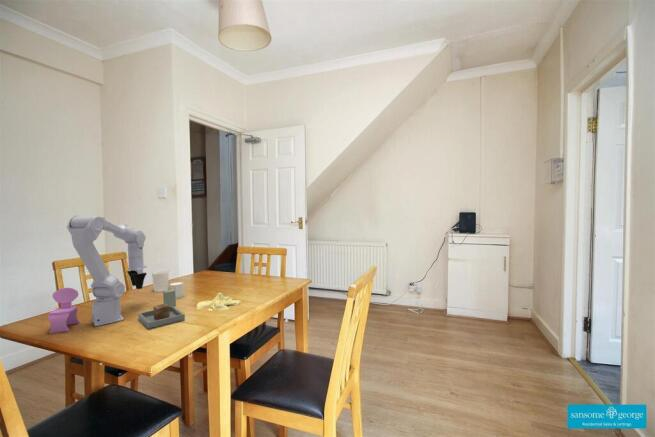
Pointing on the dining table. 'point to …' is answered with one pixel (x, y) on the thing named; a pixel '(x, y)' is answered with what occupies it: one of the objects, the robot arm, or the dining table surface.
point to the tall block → (169, 297)
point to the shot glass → (177, 289)
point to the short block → (161, 311)
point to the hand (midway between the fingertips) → (137, 287)
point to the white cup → (160, 281)
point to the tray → (151, 323)
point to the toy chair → (63, 310)
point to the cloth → (218, 303)
